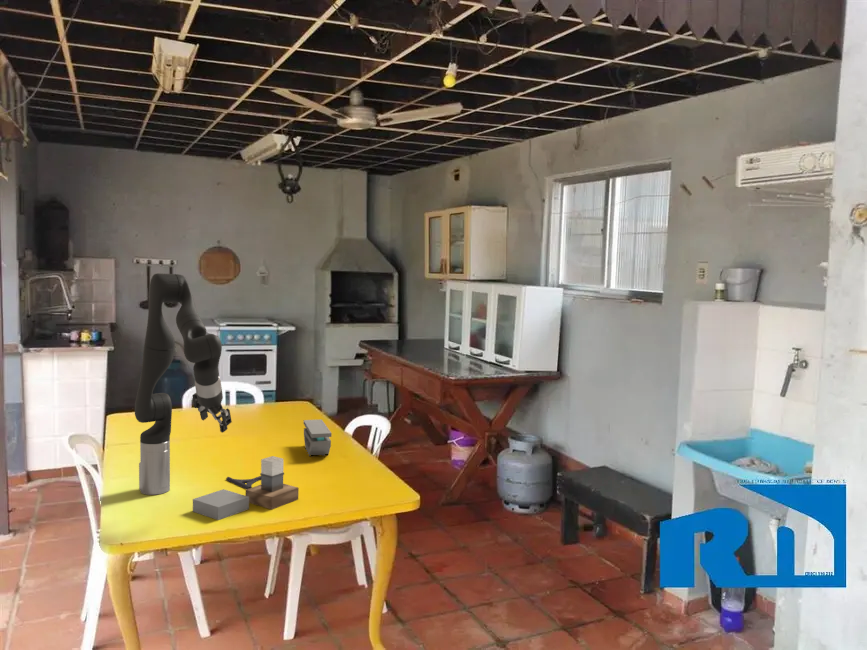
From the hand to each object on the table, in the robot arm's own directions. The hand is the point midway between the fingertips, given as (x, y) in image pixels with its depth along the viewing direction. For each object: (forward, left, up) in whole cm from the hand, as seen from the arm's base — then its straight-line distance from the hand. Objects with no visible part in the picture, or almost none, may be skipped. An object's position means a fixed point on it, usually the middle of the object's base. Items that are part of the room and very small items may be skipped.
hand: (214, 424), depth 219 cm
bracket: (-7, +24, -27) cm, 37 cm away
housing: (+13, +13, -22) cm, 29 cm away
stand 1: (+7, -3, -26) cm, 27 cm away
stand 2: (+13, +13, -26) cm, 32 cm away
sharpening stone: (-16, +66, -26) cm, 73 cm away
